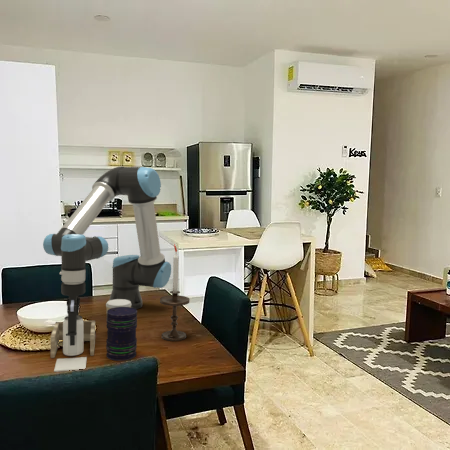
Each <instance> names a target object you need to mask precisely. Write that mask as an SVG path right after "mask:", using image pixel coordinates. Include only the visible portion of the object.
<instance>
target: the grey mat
mask: <svg viewBox="0 0 450 450" xmlns="http://www.w3.org/2000/svg"><path fill="white" fill-rule="evenodd" d="M87 358H88V356H81V357H67V358H56V362H55V366H54V370H53V372H54V373H58V372H71V371H72V370H75V371H80V370H79V369H85V368H86V369H87V367H86V366H87V361H88V360H87ZM69 370H70V371H69Z"/></svg>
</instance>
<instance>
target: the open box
mask: <svg viewBox="0 0 450 450" xmlns="http://www.w3.org/2000/svg"><path fill="white" fill-rule="evenodd" d="M63 322H64V321H55V323H54V326H53V329H52V331H51V334H50V359H56V354H57V351H58V348H57V345H58V346H59V344H58V342H59V340H63ZM83 322H84V342H89V344H90V346H89V347H90V348H89V353H90V354H89V356H95V345H96V320H83ZM59 343H60V342H59Z"/></svg>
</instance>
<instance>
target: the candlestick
mask: <svg viewBox="0 0 450 450" xmlns="http://www.w3.org/2000/svg"><path fill="white" fill-rule="evenodd" d="M173 245H174V253H175V254H174V255H173V257H172V259H173V260H172V261H173V262H172V263H173V264H172V290H171V291H169V293H170V294H171V295H170V294H169V295H164V296H162V297H160V298H159V303H160V304H161V305H164V306H169V307H172V315H171V316H170V319H171V321H172V322H171V323H170V325H171V327H172V328H171V330H166V331H164V332H162V333H161V339H163V340H165V341H166V342H167V341H168V342H180V341H184V340H185V339H186V338H187V333H186V332H184V331H182V330H177V326H178V325H179V324H178V322H177V320H178V319H179V316H178V315H177V307H179V306H180V307H181V306H185V305H188V304H190V301H191V300H190V298H189V297H188V296H185V295H179V294H181V291H179V290H178V289H179V257H180V256H179V255H178V248H177V246H176V244H175V243H174V244H173Z"/></svg>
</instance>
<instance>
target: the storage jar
mask: <svg viewBox="0 0 450 450" xmlns="http://www.w3.org/2000/svg"><path fill="white" fill-rule="evenodd" d="M137 327H138V309H135V308H131V307H115V308H111V309H109V310H107V312H106V329H107V339H106V340H105V341H106V342H105V343H106V345H105V348H106V358H107V359H109V360H111V361H118V362H121V361H128V360H131V359H134V358H135V357H136V356H137V348H138V346H137V345H138V343H137V342H138V339H137Z"/></svg>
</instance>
